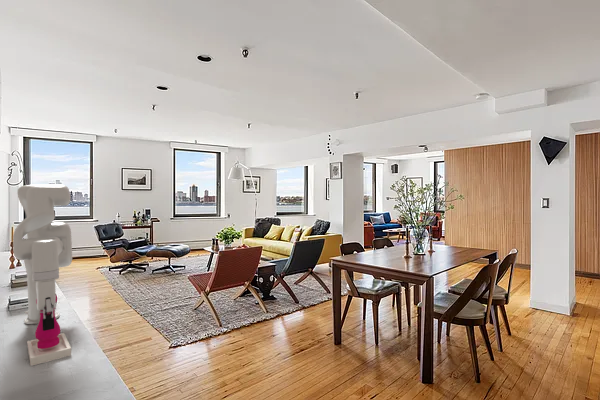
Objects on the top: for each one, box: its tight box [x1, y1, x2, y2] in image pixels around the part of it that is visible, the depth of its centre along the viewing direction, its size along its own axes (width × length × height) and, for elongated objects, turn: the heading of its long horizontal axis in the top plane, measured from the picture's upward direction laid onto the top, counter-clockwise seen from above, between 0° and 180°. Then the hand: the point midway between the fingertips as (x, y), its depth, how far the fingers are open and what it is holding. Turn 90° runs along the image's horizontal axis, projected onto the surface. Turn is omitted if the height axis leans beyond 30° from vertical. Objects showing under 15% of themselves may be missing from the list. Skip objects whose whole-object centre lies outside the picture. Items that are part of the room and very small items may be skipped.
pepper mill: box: [34, 295, 62, 349], centre depth 122 cm, size 7×7×20 cm
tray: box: [26, 332, 72, 367], centre depth 123 cm, size 18×11×2 cm, turn 40°
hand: (47, 326), depth 123 cm, fingers closed on pepper mill, 5 cm apart
